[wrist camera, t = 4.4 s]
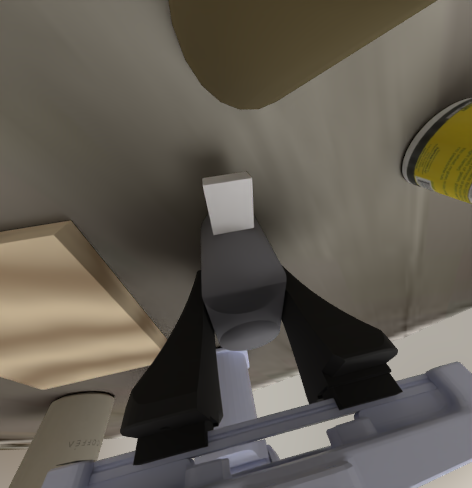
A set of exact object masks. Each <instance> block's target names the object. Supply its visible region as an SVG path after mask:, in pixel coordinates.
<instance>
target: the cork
mask: <svg viewBox="0 0 472 488" xmlns="http://www.w3.org/2000/svg"><path fill="white" fill-rule="evenodd" d="M168 1H169V7H170V13H171V20H172V25H173V28H174V30H175V33H176V36H177V39H178V41H179V44H180V47H181V49H182V52H183V55H184V58H185V60H186V62H187V63H188V65H189V66H190V68H191V69H192V71H193V72H194V74H195V76H196V77H197V79H198V80H199V82H200V83H201V85H202V86H203V87H204V88H205V89H206V90H208V91H209V92H210V93H211V94H212V95H213V96H214V97H216V98H217V99H218V100H219V101H220V102H222V103H225V104H227V105H230V106H232V107H235V108H237V109H260V108H263V107H265V106H267V105H269V104H272V103H274V102H276V101H278V100H280V99H281V98H283V97H284V96H286V95H288V94H289V93H291V92H292V91H294V90H296V89H297V88H299V87H300V86H302V85H304V84H305V83H307V82H308V81H310V80H311V79H313V78H315V77H316V76H318V75H319V74H321V73H323V72H324V71H326V70H327V69H329V68H331V67H332V66H334V65H335V64H337V63H338V62H340V61H342V60H343V59H345V58H346V57H348V56H350V55H351V54H353V53H354V52H356V51H358V50H359V49H361V48H362V47H364V46H365V45H367V44H369V43H370V42H372V41H373V40H375V39H377V38H378V37H380V36H381V35H383V34H385V33H386V32H388V31H389V30H391V29H392V28H394V27H396V26H397V25H399V24H400V23H402V22H404V21H405V20H407V19H408V18H410V17H412V16H413V15H415V14H416V13H418V12H419V11H421V10H423V9H424V8H426V7H427V6H429V5H431V4H432V3H434V2H435V1H437V0H168Z"/></svg>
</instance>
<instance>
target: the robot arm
mask: <svg viewBox="0 0 472 488" xmlns="http://www.w3.org/2000/svg"><path fill="white" fill-rule="evenodd" d="M282 267H283V266H282ZM283 269H284V271H285V273H286V278H287V279H286V288H285V296H284V303H283V310H282V318H281V319H282V322H283V324H284V327H285V330H286V333H287V336H288V339H289V342H290V345H291V348H292V351H293V354H294V357H295V360H296V363H297V366H298V369H299V373H300V376H301V379H302V383H303V386H304V389H305V393H306V396H307V399H308V402H309V405H305V406H301V407H297V408H294V409H290V410H286V411H283V412H279V413H275V414H271V415H267V416H264V417H260V418H257V415H256V410H255V404H254V399H253V394H252V389H251V383H250V378H249V373H248V368H249V360H248V353H247V350H245V351H230V350H226V349H224V348H219V349H216V346H215V330H214V328H213V325H212V322H211V320H210V317H209V314H208V312H207V309H206V306H205V304H204V301H203V298H202V280H201V270H199V271H198V272H197V275H196V278H195V282H194V285H193V288H192V291H191V293H190V296H189V298H188V301H187V303H186V305H185V308H184V310H183V312H182V314H181V316H180V318H179V320H178V322H177V324H176V326H175V328H174V329H173V331H172V333H171V335H170V336H169V338H168V340H167V341H166V343H165V344H164V346H163V348H162V349H161V351H160V352H159V354H158V355H157V356H156V358H155V359H154V361H153V362H152V364H151V365H150V367H149V368H148V369H147V371H146V372H145V373H144V375H143V376H142V377H141V379H140V380H139V381H138V383H137V384H136V385H135V387H134V388H133V389H132V391H131V394H130V397H129V400H128V403H127V406H126V409H125V413H124V417H123V421H122V425H121V429H120V433H121V434H122V435H123V436H127V437H133V438H138V441H137V446H136V451H132V452H129V453H125V454H121V455H118V456H114V457H110V458H106V459H102V460H99V461H95V462H94V461H81V462H77V463H73V464H69V465H65V466H61V467H58V468H54V469H51V470H50V471H49V472H48V473H47V475H46V477H45V480H44V482H43V484H42V487H41V488H418V487H420V486H422V485H424V484H426V483H428V482H431V481H433V480H435V479H437V478H439V477H441V476H443V475H445V474H447V473H449V472H452V471H454V470H456V469H458V468H460V467H462V466H464V465H466V464H468V463H470V462H472V373H471V372H469V371H468V370H467V369H466V368H465V367H464V366H463V365H462V364H461V363H460V362H454V363H450V364H447V365H442V366H439V367H436V368H433V369H431V370H429V371H427V372H426V373H425V374H421V375H417V376H414V377H410V378H406V379H402V380H399V381H395V380H394V379H393V377H392V376H391V374H390V372H391V369H390V368H389V366H388V365H387V364H386V363H387V362H388V361H389V360H390V359H392V358H393V357H394V356H395V355H397V353H398V349H397V348H396V347H395V346H394V345H393V343H392V342H391V341H390V340H389V339H388V337H387V336H386V335H385V334H384V333H383V332H382V331H381V330H379V329H377V328H375V327H373V326H371V325H369V324H366V323H364V322H362V321H360V320H358V319H356V318H354V317H353V316H351V315H349V314H347V313H345V312H343V311H342V310H340V309H338V308H337V307H335V306H333V305H332V304H330V303H328V302H327V301H325V300H324V299H322V298H321V297H319V296H318V295H317V294H315V293H314V292H312V291H311V290H310V289H308V288H307V287H306V286H305V285H303V284H302V283H301V282H300V281H299V280H297V279H296V278H295V277H294V276H293V275H292V274H291V273H289V272H288V271H287V270H286V269H285V268H284V267H283ZM354 413H355V415H354V420H353V421H350V422H347V423H343V424H340V425H337V426H336V427H334V428H331V429H328V430H327V435H328V438H329V440H330V443H331V446H328V447H324V448H321V449H317V450H313V451H310V452H306V453H303V454H299V455H296V456H292V457H288V458H285V459H281V460H280V459H279V457H278V455H277V453H276V452H275V451H274V450H273V449H272V447H271V446H270V445H266V441H265V439H264V440H260V439H263V438H267V437H271V436H275V435H278V434H282V433H285V432H289V431H293V430H296V429H300V428H303V427H307V426H311V425H314V424H318V423H322V422H325V421H328V420H332V419H336V418H339V417H343V416H347V415H350V414H354ZM257 440H260V441H257ZM254 441H255V442H254ZM202 455H203V456H202ZM191 458H195V459H194V460H193V459H191Z"/></svg>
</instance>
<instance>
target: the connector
mask: <svg viewBox="0 0 472 488" xmlns="http://www.w3.org/2000/svg"><path fill="white" fill-rule="evenodd" d="M202 181H203V189H204V194H205V198H206V203H207V207H208V212H209V214H208V215H207V216H206V217H205V219H204V221H203V223H202V226H201V280H202V298H203V301H204V304H205V306H206V309H207V312H208V314H209V317H210V320H211V322H212V325H213V328H214V330H215V333H216V336H217V338H218V341H219V344H220V346H221V347H222V348H224V349H226V350H230V351H245V350H251V349H255V348H258V347H261V346H263V345H265V344H267V343H269V342H271V341H272V340H273V339H275V338H276V337H277V335H278V334H279V331H280V325H281V318H282V310H283V303H284V296H285V288H286V279H287V278H286V273H285V271H284V269H283V267H282V265H281V264H280V262H279V260H278V258H277V256H276V254H275V253H274V251H273V249H272V247H271V245H270V243H269V242H268V240H267V238H266V236H265V234H264V232H263V231H262V229H261V227H260V225H259V223H258V221H257V219H256V218H255V216H254V214H253V187H252V177H251V176H250V175H249V174H248V172H247V171H246V172H239V173H233V174H226V175H219V176H213V177H206V178H202Z"/></svg>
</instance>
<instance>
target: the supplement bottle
mask: <svg viewBox="0 0 472 488" xmlns="http://www.w3.org/2000/svg"><path fill="white" fill-rule="evenodd" d="M402 172H403V176H404V178H405V179H406V180H407V181H408V182H409V183H412V184H414V185H417V186H420V187H423V188H426V189H429V190H432V191H435V192H438V193H441V194H443V195H446V196H449V197H453V198H455V199H458V200H461V201H464V202H467V203H470V204H472V98H468V99H464V100H461V101H459V102H456V103H454V104H452V105H451V106H449V107H447V108H446V109H444V110H442V111H441V112H440V113H438V114H437V115H436V116H434V117H433V118H432V119H431V120H430V121H429V122H428V123H427V124H426V125H425V126H424V127H423V128H422V129H421V130H420V131H419V132H418V134H417V135H416V136H415V138H414V139H413V141H412V142H411V144H410V146H409V148H408V150H407V152H406V154H405V157H404V160H403V166H402Z"/></svg>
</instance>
